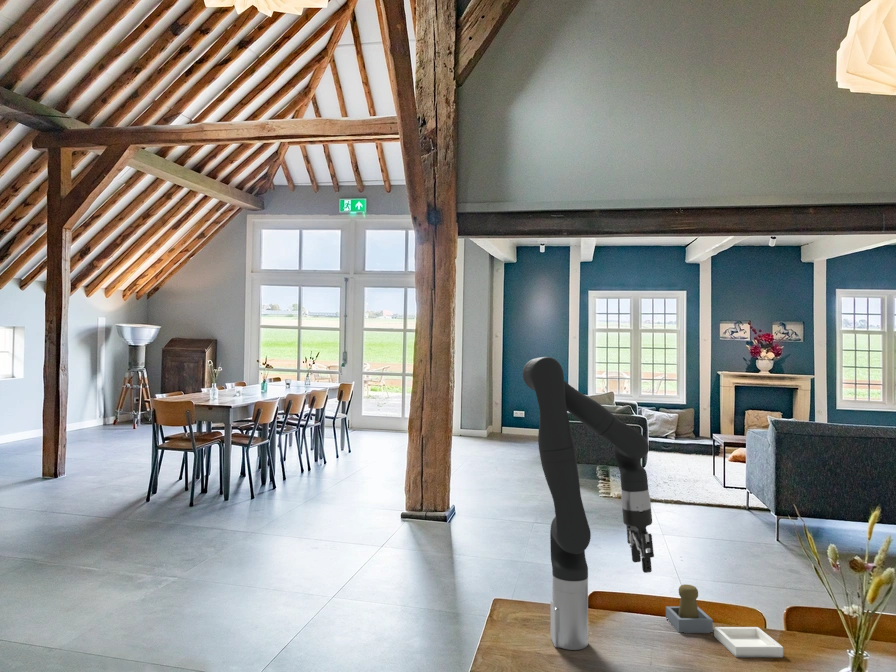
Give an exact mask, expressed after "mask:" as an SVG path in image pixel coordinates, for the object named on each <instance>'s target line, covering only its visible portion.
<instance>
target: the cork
mask: <svg viewBox="0 0 896 672" xmlns="http://www.w3.org/2000/svg"><path fill="white" fill-rule="evenodd" d="M678 595H679V597H680V600H679V606H678V607H679V615H678V616H679V617H680V618H699V615H698V608H697V607H698V602H697V599H698V597H699V590H698V588H697V587H696V586H694V585H692V584H681V585H680V586H678Z"/></svg>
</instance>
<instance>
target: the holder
mask: <svg viewBox="0 0 896 672" xmlns="http://www.w3.org/2000/svg"><path fill="white" fill-rule="evenodd" d="M679 607H680V606H679V605H678V606H677V605H676V606H674V605H673V606H671V605H670V606H667V605H666V606H665V619H666V618H668V620H669V622H670V623H671V624H672V625H673V626H674V627H675V628H674V627H673V626H672V625H671V624H670V623H669V622H668V623H669V624H670V625H671V626H672V627H673V628H674V629H675V630H676V631H677V633H679V632H684V633H683V634H693V633H694V634H698V633H699V634H702V633H703V634H711V633H710V632H713V633H714V622H713V621H714V620H713V618H712V617H710V616H709V615H708V614H707V613H706V612H705V611H704V610H703V609H702V608H700V607H699V606H697V608H698V615H699V618H680V617H679V616H678V615H679Z"/></svg>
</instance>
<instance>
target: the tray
mask: <svg viewBox="0 0 896 672" xmlns="http://www.w3.org/2000/svg"><path fill="white" fill-rule="evenodd" d="M713 637H714V638H715V639H716V640H717V641H718V642H719V643H720V644H721V645H722V646H723V647H724V648H725V649H726V650H728V652H730V653H731V654H732V655H733V656H734V657H735V658H784V647H783V646H782V645H781V644H780V643H779V642H778V641H776V640H775V639H774V638H772V637H771V636H770V635H769V634H767V633H766V632H765V631H763V630H762V629H761V628H760V627H758V626H713Z"/></svg>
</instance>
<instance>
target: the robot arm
mask: <svg viewBox="0 0 896 672" xmlns="http://www.w3.org/2000/svg"><path fill="white" fill-rule="evenodd" d="M562 367H563V366H562V365H561V363H560V362H559V361H558V360H556V359H555V358H553V357H550V356H542V357H536V358H532V359H530V360H529V361H527V362H526V364H525V365H524V366H523V369H522V379H523V381H524V383H525V384H526V386H527V387H528V388H529V389H530V390H533V391H534V392H535V395H536V399H537V405H538V409H539V424H538V434H537V435H538V436H537V438H538V440H537V442H538V451H539V458H540V462H541V463H540V464H541V467H542V470H543V474H544V478H545V480H546V483H547V486H548V489H549V491H550V494H551V498H552V501H553V505H554V514H555V516H554V518H553V519H552V521H551V524H550V533H549V534H550V536H549V537H550V538H549V539H550V562H551V568H552V577H551V579H552V585H551V586H552V587H551V588H552V598H551V599H552V600H551V601H550V639H551V641H552V644H553V646H554V647H555V648H560V649H563V650H568V651H569V650H570V651H578V650H583V649H586V648H587V646H589V567H588V564H587V559H586V552H585V551H586V549H588V547H589V545H590V542H591V537H592V533H591V528H590V525H589V523H588V522H589V521H588V519H587V515H586V511H585V507H584V503H583V501H582V499H583V498H582V493H581V484H580V476H579V468H578V462H577V455H576V450H575V445H574V439H573V434H572V429H571V424H570V419H569V415H568V414H569V413H570V414H571V415H572V416H573V417H574V418H576V419H577V420H578V421H580V423H582V424H583V425H584V426H585V427H587V428H588V429H589V430H591V431H592V432H593V433H595V434H596V435H597V436H598V437H599V438H601V439H603V440H605V441H607V442H609V443H611V444H612V445H613V451H614V457H615V460H616V464H617V468H618V471H619V475H620V487H621V495H620V496H621V498H620V499H621V508H622V511H621V512H622V519H623V520H622V521H623V522H622V523H623V524H624V525H625V526H626V535H627V537H626V538H627V544H628V545H629V548H630V550H631V560H632V561H631V562H633V563H641V569H642V572H643V573H644V574H645V573H647V574H648V573H651V572H652V571H653V570H652V561H651V560H652V558H655V554H654V543H653V535H652V533H649V532H648V531H647V527H648V526H650V525H652V524H653V515H652V505H651V496H650V491H649V483H648V480H649V479H648V474H647V471H646V468H644V467H643V466H642V464H641V459H643V458H645V457H646V456H647V455H648V452H649V449H650V446H649V442H648V440H647V439H646V437H645V436H644V435H643V434H642V433H640V432H639V431H638V430H636V429H635V428H633V427H631V426H630V425H628V424H627V423H625V422H623V421H622V420H620V419H619V418H618V417H617V416H616V415H614V414H613V413H612V412H610V411H609V410H608V409H607V408H605V406H603V405H602V404H600V403H599V402H598V401H596V400H594V399H592V398H591V397H589V396H587V395H585V394H584V393H583V392H580V391H579V390H577V388H574V387H573V386H572V385H570V384H569V383H568V382H567V381H565V375H564V369H563V368H562Z"/></svg>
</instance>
